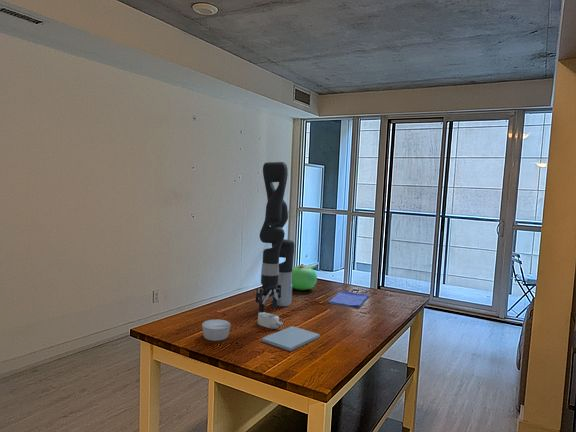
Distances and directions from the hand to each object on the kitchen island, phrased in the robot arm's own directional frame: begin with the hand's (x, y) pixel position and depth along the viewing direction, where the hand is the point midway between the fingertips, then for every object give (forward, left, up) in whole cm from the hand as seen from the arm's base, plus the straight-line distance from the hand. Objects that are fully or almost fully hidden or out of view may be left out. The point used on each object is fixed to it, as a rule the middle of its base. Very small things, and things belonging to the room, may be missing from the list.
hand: (267, 310), depth 184 cm
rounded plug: (0, +1, -7) cm, 7 cm away
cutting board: (+6, +17, -7) cm, 19 cm away
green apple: (-63, -27, -7) cm, 69 cm away
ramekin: (+25, -6, -7) cm, 26 cm away
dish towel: (-63, +5, -8) cm, 64 cm away
